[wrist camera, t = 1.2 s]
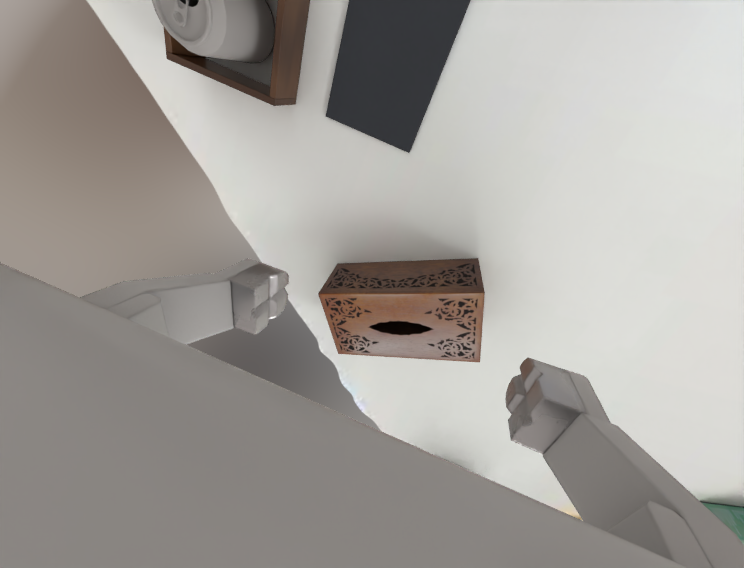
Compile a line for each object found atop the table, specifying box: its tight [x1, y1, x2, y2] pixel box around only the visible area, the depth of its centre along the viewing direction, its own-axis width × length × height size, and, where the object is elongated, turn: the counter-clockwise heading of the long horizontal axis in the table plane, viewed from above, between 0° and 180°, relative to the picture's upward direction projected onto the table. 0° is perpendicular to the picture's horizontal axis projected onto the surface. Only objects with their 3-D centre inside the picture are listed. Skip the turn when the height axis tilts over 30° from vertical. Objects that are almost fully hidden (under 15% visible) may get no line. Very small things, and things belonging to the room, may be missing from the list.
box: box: [702, 503, 744, 545], centre depth 67 cm, size 7×14×8 cm, turn 104°
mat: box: [326, 0, 470, 153], centre depth 33 cm, size 20×13×1 cm, turn 161°
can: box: [152, 0, 275, 63], centre depth 31 cm, size 8×8×12 cm
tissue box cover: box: [318, 258, 484, 362], centre depth 50 cm, size 26×14×10 cm, turn 100°
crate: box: [164, 0, 310, 106], centre depth 33 cm, size 13×15×6 cm
